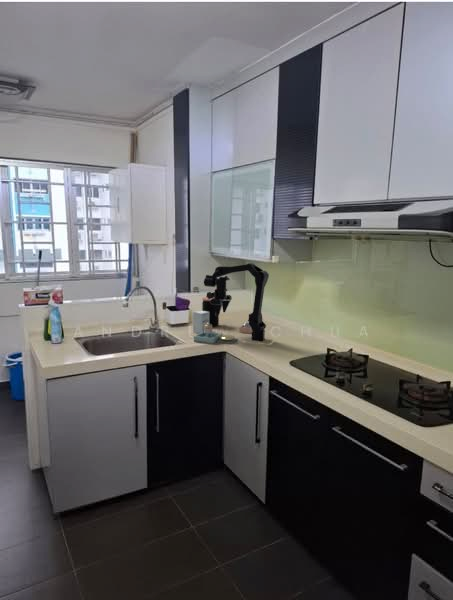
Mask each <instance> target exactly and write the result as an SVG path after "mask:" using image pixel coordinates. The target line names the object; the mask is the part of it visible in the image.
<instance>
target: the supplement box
mask: <svg viewBox="0 0 453 600" xmlns="http://www.w3.org/2000/svg"><path fill="white" fill-rule="evenodd" d="M205 324H209V312H207V311H202V310H198V311H193V312H192V332H193V333H196V334H199V333H201V332H204V325H205Z"/></svg>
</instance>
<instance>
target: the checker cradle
mask: <svg viewBox="0 0 453 600" xmlns="http://www.w3.org/2000/svg"><path fill="white" fill-rule="evenodd" d="M237 341H238V338H237V337H235V339H234V340H221V339H219V340H217V342H216V343H218V344H219V343H220V344H227V345H233V344H235V343H236V342H237Z"/></svg>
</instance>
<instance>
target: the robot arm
mask: <svg viewBox="0 0 453 600" xmlns="http://www.w3.org/2000/svg"><path fill="white" fill-rule="evenodd" d="M246 271H247V272H249V273H250V275H251V276H252V277H253V278H254V284H255V293H254V301H253V309H252V312H251V313H248V320H247V322H248V323H249V325H250V326H251V329H252V331H253V332H252V333H251V341H254V342H263V341H264V340H266V338H265V336H266V335H265V333H266V332H265V331H266V328H267V324H266V323H265V322H264V321H263V314H262V308H263V300H264V294H265V293H264V292H265V287H266V285H267V283H268V280H269V275H270V274H269V272H267V271H266V270H263V268H261V267H259V266H257V265H256V264H254V263H253V262H249V263H246V264H240V265H239V264H238V265H221V266H220V265H218V266H217V267H216V268H215V270H214V272H213V273H212V275H210V274H206V275H205V277H204V280H203V285H204V286H205V287H209V288H210V287H211V288H215V287H216V289H215V290H214V292H212V291H209V292H206V296H205V297H207V298H208V299H211V298H213V299H211V300H210V304H212V305H213V306H214V307H215V310H216V313H217V315H219V316H220V313H221V310H222V312H223V313H226V311H227V309H228V306H229V305H230V302H231V301H232V297H233V296H232V295H230V294H227V291H228V289H227V281H230V277H228V275H229V274H232V273H238V272H239V273H240V272H246Z"/></svg>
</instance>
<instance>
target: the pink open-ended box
mask: <svg viewBox="0 0 453 600" xmlns="http://www.w3.org/2000/svg"><path fill="white" fill-rule="evenodd" d="M238 328H239V329H238V333H241V334H249V335H250V334H251V335H252V332H253V331H252V329H251V326H250V328H247V327H244V323H243V324H242V325H239V327H238Z"/></svg>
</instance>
